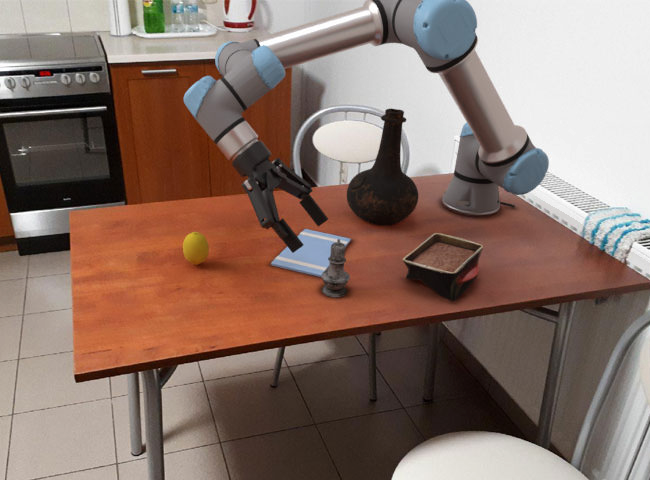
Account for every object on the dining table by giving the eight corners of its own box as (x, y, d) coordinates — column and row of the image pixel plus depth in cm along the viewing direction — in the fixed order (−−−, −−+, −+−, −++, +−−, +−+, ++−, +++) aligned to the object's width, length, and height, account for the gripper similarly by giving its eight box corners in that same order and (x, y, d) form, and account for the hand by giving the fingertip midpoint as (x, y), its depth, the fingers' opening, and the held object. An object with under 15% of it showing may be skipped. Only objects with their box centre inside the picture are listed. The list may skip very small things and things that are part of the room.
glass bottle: (336, 207, 170) (345, 100, 155) (398, 203, 174) (413, 98, 159) (357, 236, 155) (369, 121, 141) (425, 231, 159) (444, 119, 144)
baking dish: (390, 289, 138) (395, 252, 131) (433, 251, 148) (440, 215, 141) (449, 318, 131) (457, 281, 124) (490, 277, 141) (499, 240, 134)
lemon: (198, 256, 143) (197, 224, 139) (214, 265, 140) (213, 232, 136) (178, 264, 140) (176, 231, 136) (194, 273, 137) (192, 239, 132)
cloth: (270, 265, 141) (270, 262, 141) (304, 230, 157) (305, 228, 156) (321, 277, 137) (321, 274, 137) (351, 240, 153) (351, 238, 153)
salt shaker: (346, 299, 130) (351, 247, 123) (318, 296, 131) (321, 243, 124) (350, 285, 135) (355, 234, 128) (322, 282, 135) (326, 230, 129)
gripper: (260, 144, 137) (320, 221, 140) (201, 181, 118) (273, 270, 121) (283, 123, 133) (345, 204, 136) (226, 158, 113) (300, 251, 116)
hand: (311, 235), depth 128 cm, fingers open, 13 cm apart
